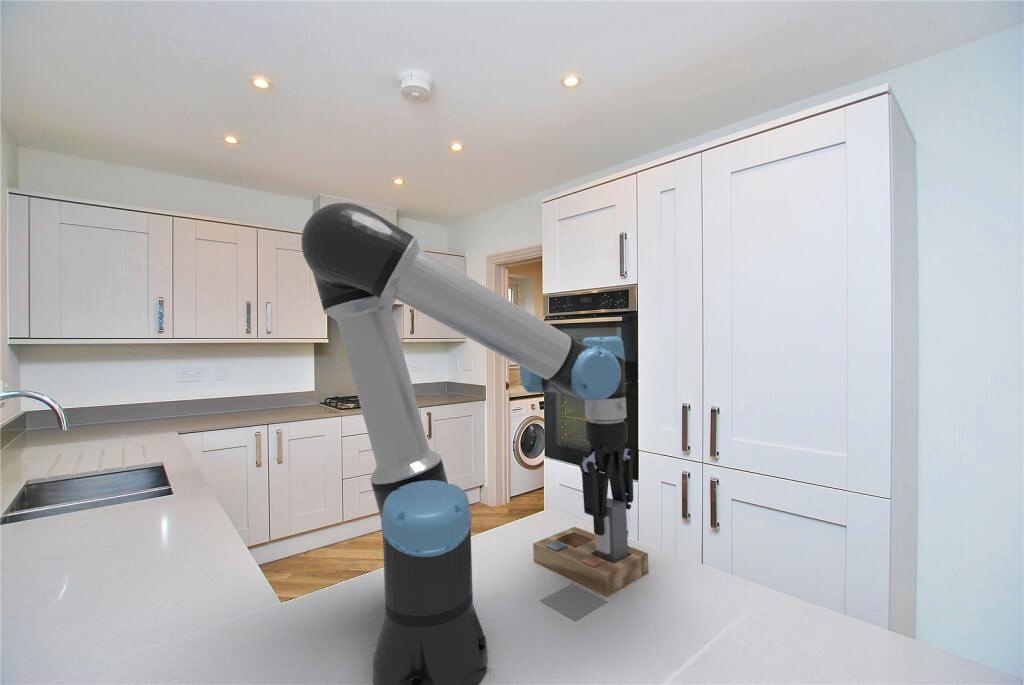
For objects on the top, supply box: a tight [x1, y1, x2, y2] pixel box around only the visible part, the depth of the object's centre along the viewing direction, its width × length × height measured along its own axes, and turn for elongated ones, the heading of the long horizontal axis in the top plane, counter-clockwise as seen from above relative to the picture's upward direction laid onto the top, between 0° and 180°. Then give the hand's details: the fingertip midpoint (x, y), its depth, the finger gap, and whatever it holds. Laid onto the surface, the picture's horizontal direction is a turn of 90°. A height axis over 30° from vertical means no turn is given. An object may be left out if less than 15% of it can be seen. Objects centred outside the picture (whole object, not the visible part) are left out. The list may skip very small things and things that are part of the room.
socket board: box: [532, 526, 649, 598], centre depth 89 cm, size 12×18×4 cm, turn 40°
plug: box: [597, 497, 629, 564], centre depth 86 cm, size 4×4×12 cm
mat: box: [539, 583, 609, 622], centre depth 77 cm, size 8×8×1 cm
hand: (611, 547), depth 86 cm, fingers closed on plug, 4 cm apart
